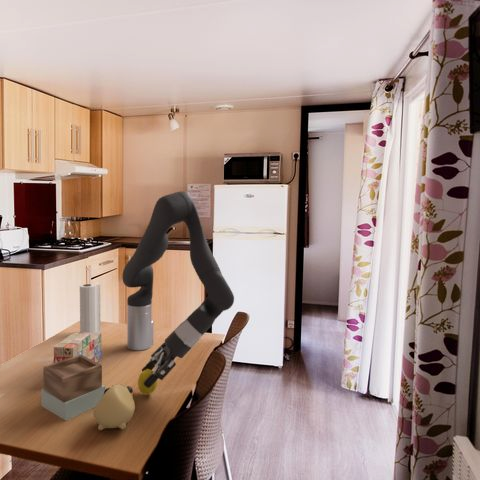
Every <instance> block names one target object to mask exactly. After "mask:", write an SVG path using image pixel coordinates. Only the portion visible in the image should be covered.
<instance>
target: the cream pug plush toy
mask: <svg viewBox="0 0 480 480" xmlns="http://www.w3.org/2000/svg"><path fill="white" fill-rule="evenodd" d="M133 391H134V390H133V388H132V386H129V385H128V386H127V385H122V384H114V385H111V386H110V387H107V388H105V391H104V395H103V396H102V398H101V399H100V400H99V402H98V403H97V405H96V406H95V407H93V408H94V409H93V412H92V413H93V417H94V419H95V421H96V423H97V424H98V425H97V429H98V430H99V431H103V430H104V429H115V428H116V429H117V428H118V429H121V430H124V429H125V428H126V427H127V425H126V424H128V423H129V421H130V420H131V418H132V417H133V415H134V413H135V408H136V405H135V400H134V399H133V396H134V393H133Z"/></svg>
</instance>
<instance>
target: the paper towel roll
mask: <svg viewBox="0 0 480 480" xmlns="http://www.w3.org/2000/svg"><path fill="white" fill-rule="evenodd" d="M101 324H102V323H101V284H96V285H95V284H92V283H85V284H84V283H83V284H80V285H79V329H80V330H79V333H101V332H102V331H101V326H102V325H101Z"/></svg>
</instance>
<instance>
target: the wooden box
mask: <svg viewBox="0 0 480 480" xmlns="http://www.w3.org/2000/svg"><path fill="white" fill-rule="evenodd" d="M102 385H103V364H100V363H99V362H98V361H97V362H95V361H93V360H91V359H89V358H87V357H85V356H83V355H78V356H75V357H72V358H69V359H66V360H62V361H59V362H56V363H54V362H52V363H50V364H47V365H43V389H45V390H46V391H48V392H49V393H51V394H52V395H53V396H55V397H56V398H58V399H59V400H61V401H62V402H64V403H65V402H67V401H69V400H72V399H74V398H77V397H79V396H82V395H84V394H87V393H89V392H92V391H94V390H96V389H99V388H101V387H102Z"/></svg>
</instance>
